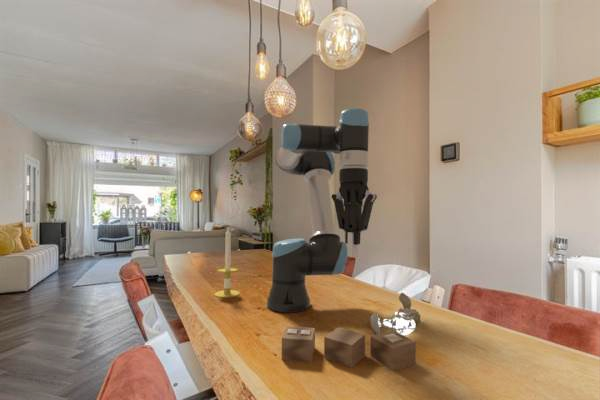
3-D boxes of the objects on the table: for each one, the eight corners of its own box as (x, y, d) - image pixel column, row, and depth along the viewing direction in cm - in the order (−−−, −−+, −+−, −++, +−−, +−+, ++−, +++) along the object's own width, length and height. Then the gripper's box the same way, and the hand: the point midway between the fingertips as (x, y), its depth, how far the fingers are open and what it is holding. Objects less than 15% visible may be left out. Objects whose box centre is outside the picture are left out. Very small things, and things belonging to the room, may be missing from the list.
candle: (236, 297, 116) (237, 227, 117) (210, 297, 116) (212, 227, 117) (242, 290, 126) (243, 226, 127) (218, 290, 126) (219, 225, 127)
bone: (419, 325, 85) (401, 291, 89) (399, 332, 89) (384, 299, 93) (428, 319, 92) (412, 288, 96) (410, 326, 95) (395, 295, 99)
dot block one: (370, 357, 70) (370, 334, 71) (392, 351, 74) (392, 329, 74) (392, 371, 64) (392, 346, 64) (415, 364, 68) (415, 340, 68)
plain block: (324, 358, 70) (324, 337, 70) (338, 347, 75) (338, 327, 75) (351, 368, 66) (352, 345, 66) (365, 355, 71) (365, 334, 71)
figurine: (369, 309, 91) (411, 306, 88) (373, 331, 90) (415, 328, 87) (368, 318, 82) (414, 314, 79) (372, 343, 81) (419, 340, 78)
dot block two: (281, 360, 69) (281, 336, 69) (287, 346, 76) (287, 325, 76) (312, 362, 68) (312, 338, 68) (314, 348, 75) (314, 326, 75)
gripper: (325, 168, 83) (324, 254, 83) (368, 165, 74) (366, 262, 74) (341, 170, 88) (340, 251, 88) (382, 168, 79) (381, 257, 79)
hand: (352, 256), depth 81 cm, fingers closed
